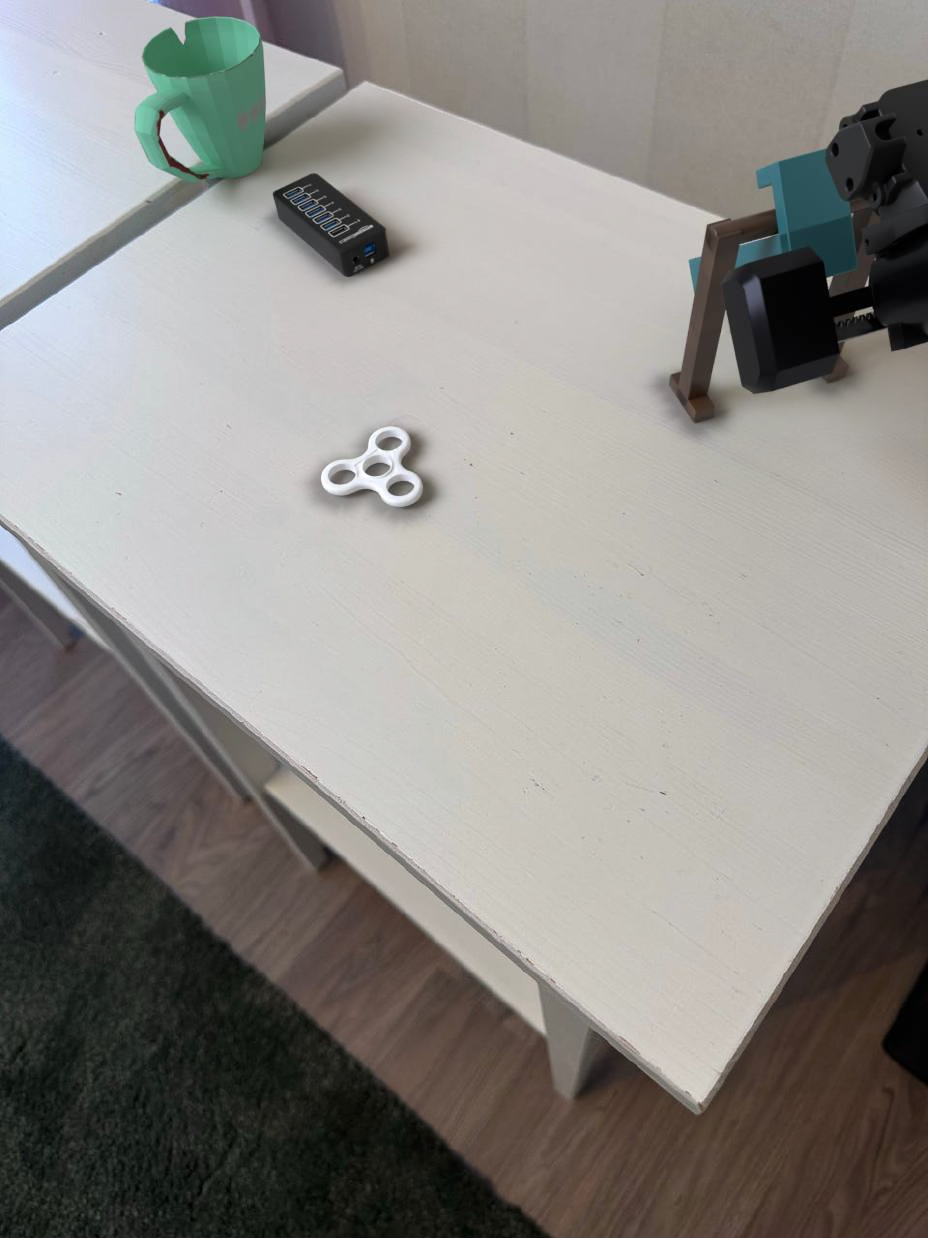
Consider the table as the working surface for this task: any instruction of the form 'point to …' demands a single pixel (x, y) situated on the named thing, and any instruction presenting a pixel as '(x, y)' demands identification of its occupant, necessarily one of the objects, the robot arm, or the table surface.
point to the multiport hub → (331, 224)
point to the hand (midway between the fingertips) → (817, 310)
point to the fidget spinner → (377, 482)
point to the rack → (711, 306)
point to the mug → (206, 97)
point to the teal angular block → (803, 216)
